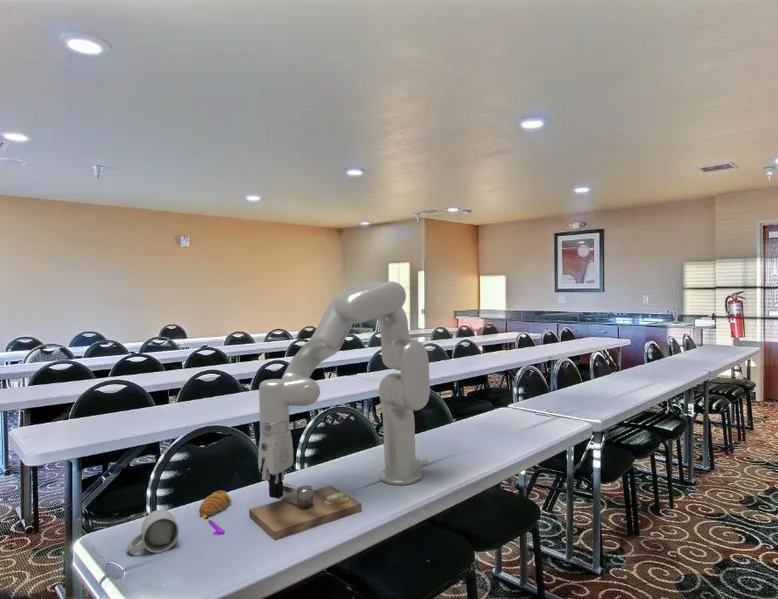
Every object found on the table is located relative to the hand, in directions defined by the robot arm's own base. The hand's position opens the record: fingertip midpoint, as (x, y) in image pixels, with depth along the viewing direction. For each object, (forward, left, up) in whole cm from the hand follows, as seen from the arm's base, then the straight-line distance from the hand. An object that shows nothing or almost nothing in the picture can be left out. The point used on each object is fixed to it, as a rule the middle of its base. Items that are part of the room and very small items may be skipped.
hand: (276, 496), depth 135 cm
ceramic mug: (+30, -1, -4) cm, 30 cm away
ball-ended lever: (-4, +2, -2) cm, 4 cm away
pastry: (+12, -13, -4) cm, 18 cm away
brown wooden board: (-5, +6, -4) cm, 9 cm away
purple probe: (+16, -5, -5) cm, 18 cm away
